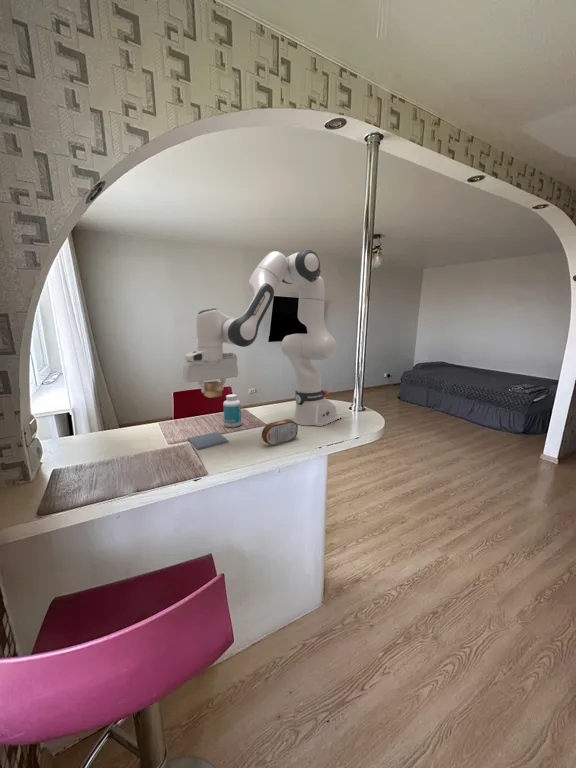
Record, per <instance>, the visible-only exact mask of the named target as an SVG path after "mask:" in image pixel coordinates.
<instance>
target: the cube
mask: <svg viewBox="0 0 576 768" xmlns="http://www.w3.org/2000/svg"><path fill="white" fill-rule="evenodd" d="M202 385H203V386H204V387H206V388H207V392H206V393H203V396H204V397H206V398H210V399H211V398H218V397H223V390H222V387H221V381H218V380H214V381H213V380H209V381H203V384H202Z"/></svg>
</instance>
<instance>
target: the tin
mask: <svg viewBox="0 0 576 768" xmlns="http://www.w3.org/2000/svg"><path fill="white" fill-rule="evenodd" d="M298 431H299V426H298V424H297V423H295V422H294V421H293V419H289V418H287V419H282V420H277V421H273V422H269V423H268V424H266V425H264V428H263V429H262V431H261V438H262V439H261V440H262V441H263V442H264V443H265V444H267V445H268V446H276V445H281V444H283V443H288V442H291V441H293V440H294V439H295V438H296V437H297V435H298Z"/></svg>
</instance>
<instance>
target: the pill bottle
mask: <svg viewBox="0 0 576 768" xmlns="http://www.w3.org/2000/svg"><path fill="white" fill-rule="evenodd" d="M225 399H226V400H224V401H223V403H222V405H223V420H224V426H225V427H227V428H237V427H240V426H241V425H242V422H243V421H242V407H241V401H240V400H239V399H238V394H235V393H234V394H233V393H232V394H231V393H230V394H227V395H225Z"/></svg>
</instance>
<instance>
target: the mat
mask: <svg viewBox="0 0 576 768" xmlns="http://www.w3.org/2000/svg"><path fill="white" fill-rule="evenodd" d="M187 441H188V442H189V443H190V444H191V445H192V444H193V445H192V446H193V447H194V448H195V449H197V451H200V450H204V449H207V448H212V447H216V446H219V445H224V444H228V443H230V441H229V440H228V439H227V438H226V437H225V436H223V435H222V434H221V433H219V432H218V431H215V432H211V433H210V432H209V433H206V434H205V433H204V434H201V435H196V436H192V437H188V438H187Z"/></svg>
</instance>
